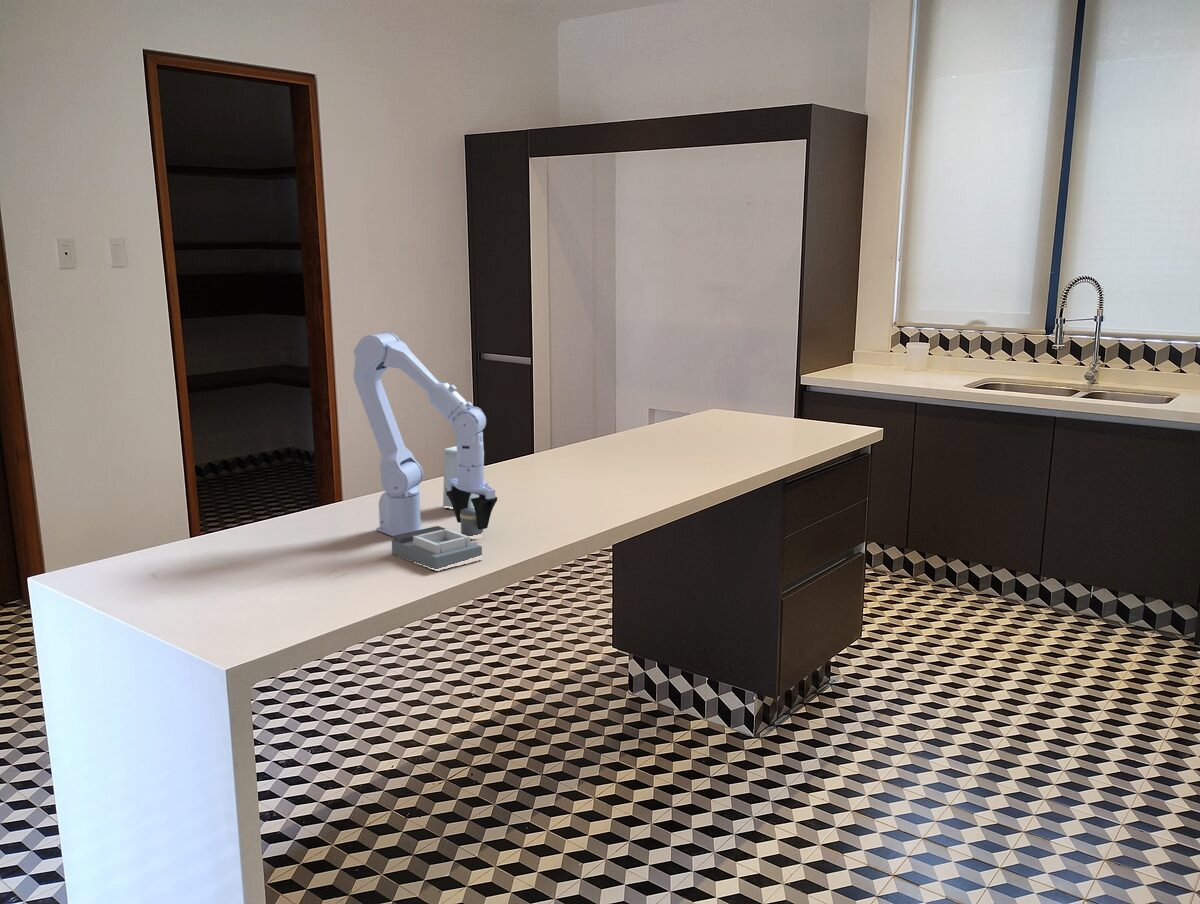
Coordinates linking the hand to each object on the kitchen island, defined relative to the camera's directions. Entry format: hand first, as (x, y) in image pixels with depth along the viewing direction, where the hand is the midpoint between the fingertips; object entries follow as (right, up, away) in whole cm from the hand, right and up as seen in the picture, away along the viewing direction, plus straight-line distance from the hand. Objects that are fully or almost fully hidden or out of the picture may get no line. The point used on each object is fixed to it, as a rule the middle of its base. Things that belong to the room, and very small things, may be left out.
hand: (472, 525), depth 211 cm
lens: (0, -3, +1) cm, 3 cm away
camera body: (-5, -5, -14) cm, 16 cm away
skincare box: (-5, +2, +24) cm, 25 cm away
